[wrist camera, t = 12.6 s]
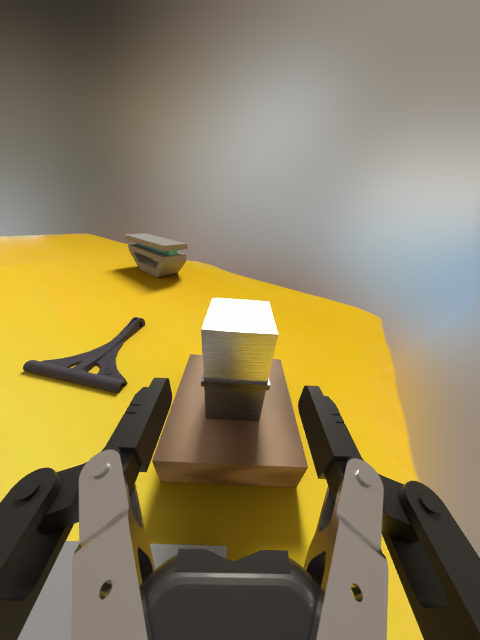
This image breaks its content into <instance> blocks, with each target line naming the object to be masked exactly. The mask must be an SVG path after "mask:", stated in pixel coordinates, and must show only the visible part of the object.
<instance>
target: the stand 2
mask: <svg viewBox="0 0 480 640" xmlns="http://www.w3.org/2000/svg"><path fill="white" fill-rule="evenodd" d="M202 374H203V355H193V354H190V357H189V360H188V363H187V365H186V368H185V371H184V374H183V377H182V379H181V382H180V385H179V388H178V390H177V393H176V396H175V399H174V402H173V404H172V407H171V410H170V413H169V415H168V418H167V421H166V424H165V427H164V429H163V432H162V435H161V438H160V440H159V443H158V446H157V449H156V452H155V454H154V457H153V460H152V462H153V464H154V467H155V469H156V472H157V474H158V477H159V480H160V482H176V483H201V484H227V485H252V486H277V487H297V485H298V484H299V482H300V480H301V478H302V477H303V475H304V473H305V472H306V470H307V468H308V466H307V462H306V458H305V454H304V450H303V446H302V442H301V438H300V434H299V431H298V427H297V423H296V419H295V415H294V411H293V407H292V403H291V399H290V395H289V392H288V388H287V384H286V380H285V376H284V372H283V368H282V364H281V360H279V359H273V360H272V365H271V369H270V374H269V379H270V389H269V390H266V393H265V397H264V402H263V407H262V412H261V416H260V421H259V422H258V421H240V420H221V419H206V414H205V393H204V387H201V378H202Z"/></svg>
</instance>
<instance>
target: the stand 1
mask: <svg viewBox="0 0 480 640" xmlns="http://www.w3.org/2000/svg"><path fill="white" fill-rule="evenodd" d="M78 545H79V541H65V543H64V545H63V547H62V549H61V551H60V553H59V555H58V558H57V560H56V562H55V564H54V566H53V568H52V570H51V572H50V574H49V576H48V578H47V580H46V582H45V584H44V586H43V588H42V590H41V592H40V594H39V596H38V598H37V600H36V602H35V604H34V607H33V609H32V611H31V613H30V615H29V617H28V619H27V621H26V623H25V625H24V627H23V629H22V631H21V633H20V635H19V637H18V639H17V640H71V616H72V561H73V555H74V552H75V550H76V549H77V547H78ZM150 547H151V552H152V556H153V561H154V565H155V570H156V569H157V568H158V567H159V566H160V565H161V564H163V563H164V562H165V561H167V560H168V559H170V558H172V557H174V556H176V555H178V549H207V550H209V551H211V552H213V553H215V554H217V555H220V556H222V557H224V558H226V559H227V546H211V545H178V544H150Z"/></svg>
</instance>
